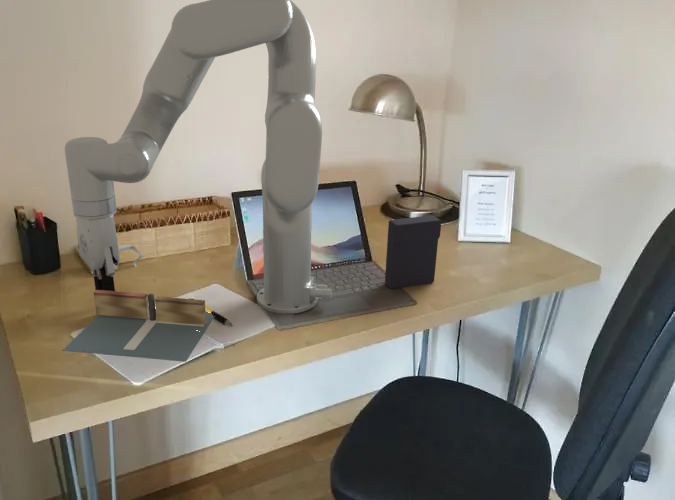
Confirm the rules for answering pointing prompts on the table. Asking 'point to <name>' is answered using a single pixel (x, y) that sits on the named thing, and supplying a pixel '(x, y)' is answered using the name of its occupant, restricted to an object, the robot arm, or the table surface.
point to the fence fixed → (177, 310)
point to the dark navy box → (412, 251)
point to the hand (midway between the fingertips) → (105, 294)
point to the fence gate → (121, 304)
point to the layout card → (139, 338)
